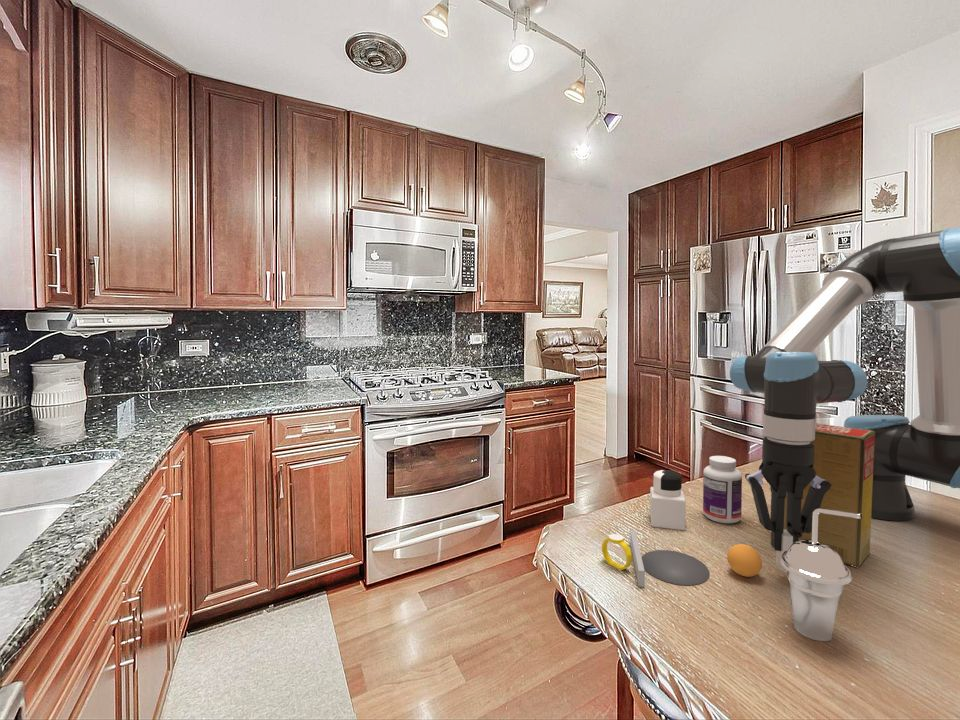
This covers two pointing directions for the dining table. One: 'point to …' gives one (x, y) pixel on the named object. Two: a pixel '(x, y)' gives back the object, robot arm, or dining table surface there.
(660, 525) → the medicine bottle
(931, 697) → the dining table surface
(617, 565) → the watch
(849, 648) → the dining table surface
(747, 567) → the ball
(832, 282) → the robot arm
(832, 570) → the cup with straw
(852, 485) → the food packaging
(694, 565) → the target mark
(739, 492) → the pill bottle
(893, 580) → the dining table surface
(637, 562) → the wall
